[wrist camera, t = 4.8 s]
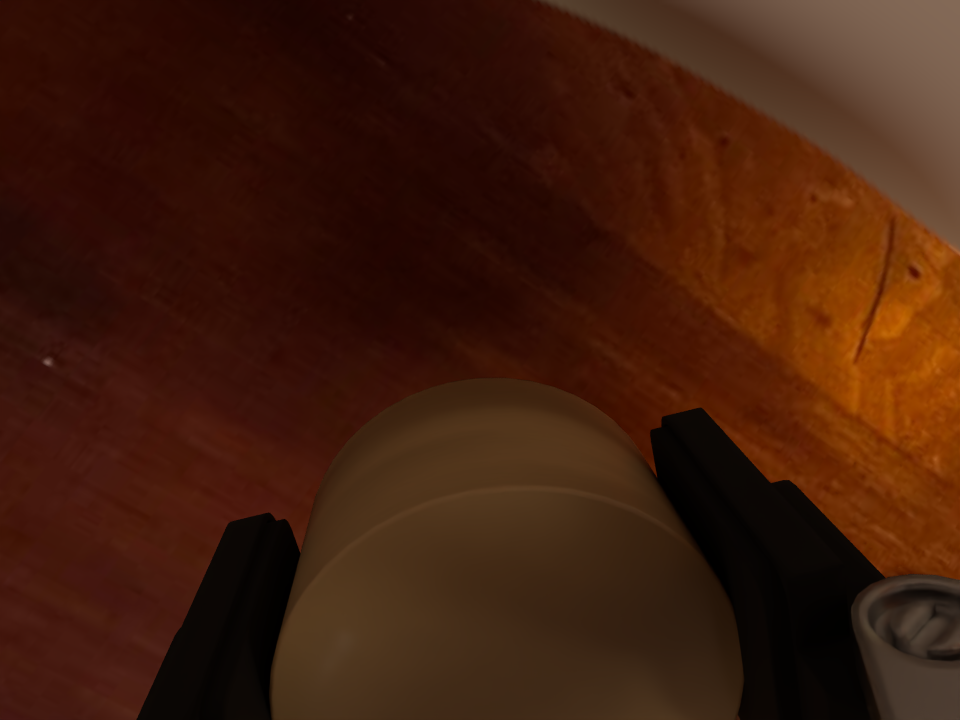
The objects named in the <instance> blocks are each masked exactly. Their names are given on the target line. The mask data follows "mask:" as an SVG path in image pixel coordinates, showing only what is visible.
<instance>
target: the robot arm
mask: <svg viewBox="0 0 960 720" xmlns="http://www.w3.org/2000/svg"><path fill="white" fill-rule="evenodd" d="M650 437H651V444H652V449H653V455H654V461H655V467H656V472H657V478H658V480H659V482H660V483H661V485H662V487H663V488H664V490H665V492H666V493H667V495H668V496H669V498H670V500H671V501H672V503H673V504H674V506H675V508H676V509H677V511H678V512H679V514H680V516H681V517H682V519H683V520H684V522H685V524H686V525H687V527H688V528H689V530H690V532H691V533H692V535H693V536H694V538H695V540H696V541H697V543H698V544H699V546H700V548H701V549H702V551H703V552H704V554H705V556H706V557H707V559H708V560H709V562H710V564H711V565H712V567H713V568H714V570H715V572H716V573H717V575H718V576H719V578H720V580H721V582H722V583H723V585H724V587H725V589H726V591H727V593H728V595H729V597H730V599H731V601H732V603H733V607H734V612H735V618H736V624H737V630H738V636H739V643H740V650H741V657H742V664H743V672H744V686H743V692H742V698H741V704H740V708H739V711H738V716H739V718H740V720H960V580H956V579H951V578H946V577H942V576H937V575H919V574H908V575H901V576H894V577H888V578H885V577H884V576H883V575H882V574H881V573H880V572H879V571H878V570H877V569H876V568H875V567H874V566H873V565H872V564H871V563H870V562H869V561H868V560H867V558H866V557H865V556H864V555H863V554H862V553H861V552H860V551H859V550H858V549H857V548H856V547H855V546H854V545H853V544H852V543H851V542H850V541H849V540H848V539H847V538H846V537H845V536H844V535H843V534H842V533H841V532H840V531H839V530H838V529H837V528H836V526H835V525H834V524H833V523H832V522H831V521H830V520H829V519H828V518H827V517H826V516H825V515H824V514H823V513H822V512H821V511H820V510H819V509H818V508H817V507H816V506H815V505H814V504H813V503H812V502H811V501H810V500H809V499H808V498H807V497H806V496H805V495H804V493H803V492H802V491H801V490H800V489H799V488H798V487H797V486H796V485H795V484H793V483H792V482H791V481H789V480H782V481H778V482H774V483H770V482H769V481H768V480H767V479H766V478H765V477H764V475H763V474H762V473H761V472H760V471H759V470H758V469H757V468H756V467H755V466H754V464H753V463H752V462H751V461H750V460H749V459H748V458H747V457H746V456H745V455H744V453H743V452H742V451H741V450H740V449H739V448H738V447H737V446H736V445H735V444H734V442H733V441H732V440H731V439H730V438H729V437H728V436H727V435H726V434H725V433H724V431H723V430H722V429H721V428H720V427H719V426H718V425H717V424H716V423H715V422H714V420H713V419H712V418H711V417H710V416H709V415H708V414H707V413H706V412H705V411H704V410H703V409H702V408H696V409H692V410H688V411H684V412H680V413H676V414H672V415H668V416H664V417H662V427H661V428H656V429H652V430H651V432H650ZM299 557H300V551H299V549H298V546H297V543H296V540H295V537H294V535H293V532H292V529H291V527H290V525H289V523H288V521H287V520H285V519H282V520H278V521H276V520H275V518H274V517H273V515H272V514H270V513H265V514H261V515H257V516H252V517H248V518H244V519H240V520H236V521H232V522H230V523H229V524H228V525H227V527H226V529H225V532H224V534H223V536H222V538H221V540H220V543H219V545H218V547H217V549H216V552H215V554H214V556H213V558H212V560H211V563H210V565H209V567H208V569H207V572H206V574H205V576H204V578H203V580H202V583H201V585H200V587H199V589H198V591H197V594H196V596H195V598H194V600H193V603H192V605H191V607H190V609H189V611H188V614H187V616H186V618H185V620H184V623H183V625H182V627H181V628H180V629H179V630H178V632H177V633H176V635H175V637H174V639H173V641H172V643H171V645H170V648H169V650H168V652H167V654H166V656H165V658H164V661H163V663H162V665H161V667H160V669H159V672H158V674H157V676H156V678H155V680H154V683H153V685H152V687H151V689H150V691H149V694H148V696H147V698H146V700H145V702H144V705H143V707H142V709H141V711H140V713H139V715H138V718H137V720H271V715H270V703H269V685H270V673H271V665H272V661H273V657H274V653H275V649H276V645H277V641H278V637H279V634H280V630H281V626H282V622H283V618H284V614H285V611H286V607H287V603H288V599H289V595H290V592H291V588H292V584H293V580H294V576H295V573H296V569H297V565H298V561H299Z"/></svg>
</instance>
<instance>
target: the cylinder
mask: <svg viewBox="0 0 960 720" xmlns="http://www.w3.org/2000/svg"><path fill="white" fill-rule="evenodd" d="M743 686H744V672H743V664H742V657H741V650H740V643H739V636H738V630H737V624H736V618H735V612H734V607H733V603H732V601H731V599H730V597H729V595H728V593H727V591H726V589H725V587H724V585H723V583H722V582H721V580H720V578H719V576H718V575H717V573H716V572H715V570H714V568H713V567H712V565H711V564H710V562H709V560H708V559H707V557H706V556H705V554H704V552H703V551H702V549H701V548H700V546H699V544H698V543H697V541H696V540H695V538H694V536H693V535H692V533H691V532H690V530H689V528H688V527H687V525H686V524H685V522H684V520H683V519H682V517H681V516H680V514H679V512H678V511H677V509H676V508H675V506H674V504H673V503H672V501H671V500H670V498H669V496H668V495H667V493H666V492H665V490H664V488H663V487H662V485H661V483H660V482H659V480H658V479H657V477H656V475H655V474H654V472H653V471H652V469H651V467H650V466H649V464H648V463H647V461H646V459H645V458H644V456H643V455H642V453H641V452H640V450H639V449H638V448H637V446H636V445H635V444H634V442H633V441H632V440H631V438H630V437H629V436H628V435H627V434H626V433H625V432H624V431H623V430H622V429H621V428H620V426H619V425H618V424H617V423H616V422H615V421H614V420H612V419H611V418H610V417H608V416H607V415H606V414H604V413H603V412H602V411H600V410H599V409H598V408H596V407H595V406H593V405H591V404H590V403H588V402H586V401H584V400H582V399H581V398H579V397H577V396H575V395H573V394H570V393H568V392H565V391H563V390H560V389H558V388H555V387H552V386H548V385H544V384H540V383H536V382H532V381H527V380H519V379H510V378H477V379H469V380H461V381H455V382H451V383H447V384H443V385H439V386H435V387H431V388H429V389H426V390H424V391H421V392H418V393H416V394H413V395H411V396H408V397H406V398H405V399H403V400H401V401H399V402H397V403H395V404H394V405H392V406H390V407H388V408H386V409H385V410H384V411H382V412H381V413H379V414H378V415H377V416H375V417H374V418H373V419H371V420H370V421H368V422H367V423H366V424H365V425H364V426H363V427H362V428H361V429H360V430H359V431H358V432H357V433H355V434H354V435H353V436H352V437H351V438H350V439H349V441H348V442H347V443H346V444H345V445H344V447H343V448H342V449H341V450H340V452H339V453H338V454H337V455H336V457H335V458H334V460H333V462H332V463H331V465H330V467H329V468H328V470H327V472H326V473H325V475H324V477H323V480H322V482H321V484H320V487H319V489H318V492H317V494H316V496H315V500H314V504H313V508H312V512H311V515H310V519H309V523H308V527H307V531H306V535H305V538H304V542H303V546H302V550H301V554H300V557H299V561H298V565H297V569H296V573H295V576H294V580H293V584H292V588H291V592H290V595H289V599H288V603H287V607H286V611H285V614H284V618H283V622H282V626H281V630H280V634H279V637H278V641H277V645H276V649H275V653H274V657H273V661H272V665H271V673H270V685H269V703H270V715H271V720H736V717H737V714H738V711H739V708H740V704H741V698H742V692H743Z"/></svg>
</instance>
